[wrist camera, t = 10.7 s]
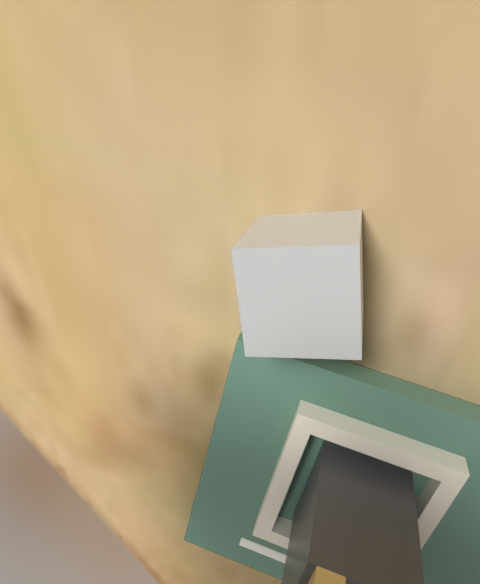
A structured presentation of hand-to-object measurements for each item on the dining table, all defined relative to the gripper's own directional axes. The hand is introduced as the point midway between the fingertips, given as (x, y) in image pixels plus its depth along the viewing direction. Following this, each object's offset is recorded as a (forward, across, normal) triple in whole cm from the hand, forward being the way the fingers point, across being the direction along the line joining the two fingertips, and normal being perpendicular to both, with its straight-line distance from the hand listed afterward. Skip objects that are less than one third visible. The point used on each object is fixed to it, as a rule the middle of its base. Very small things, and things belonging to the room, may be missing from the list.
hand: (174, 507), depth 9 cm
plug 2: (+11, -6, +9) cm, 15 cm away
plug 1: (+12, -1, -1) cm, 12 cm away
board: (+12, -7, +10) cm, 17 cm away
